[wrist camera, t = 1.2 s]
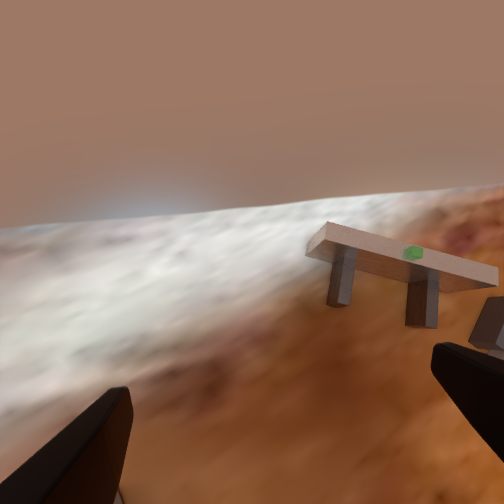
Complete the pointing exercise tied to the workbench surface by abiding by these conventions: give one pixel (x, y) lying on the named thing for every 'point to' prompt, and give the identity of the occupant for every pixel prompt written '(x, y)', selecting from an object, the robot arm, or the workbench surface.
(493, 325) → the holster
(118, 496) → the hard drive box
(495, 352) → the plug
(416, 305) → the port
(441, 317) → the workbench surface
